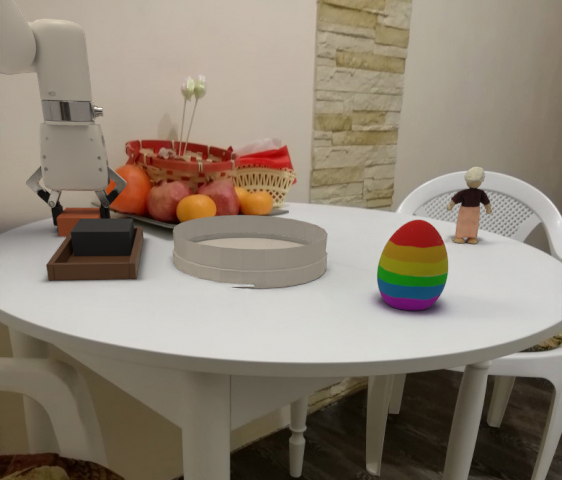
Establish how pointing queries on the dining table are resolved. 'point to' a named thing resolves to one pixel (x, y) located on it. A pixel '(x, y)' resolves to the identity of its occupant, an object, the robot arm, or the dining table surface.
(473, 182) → the grandmother figurine
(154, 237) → the dining table surface
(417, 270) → the decorative egg
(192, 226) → the dish
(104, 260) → the pad frame
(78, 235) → the pad
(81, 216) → the pad
